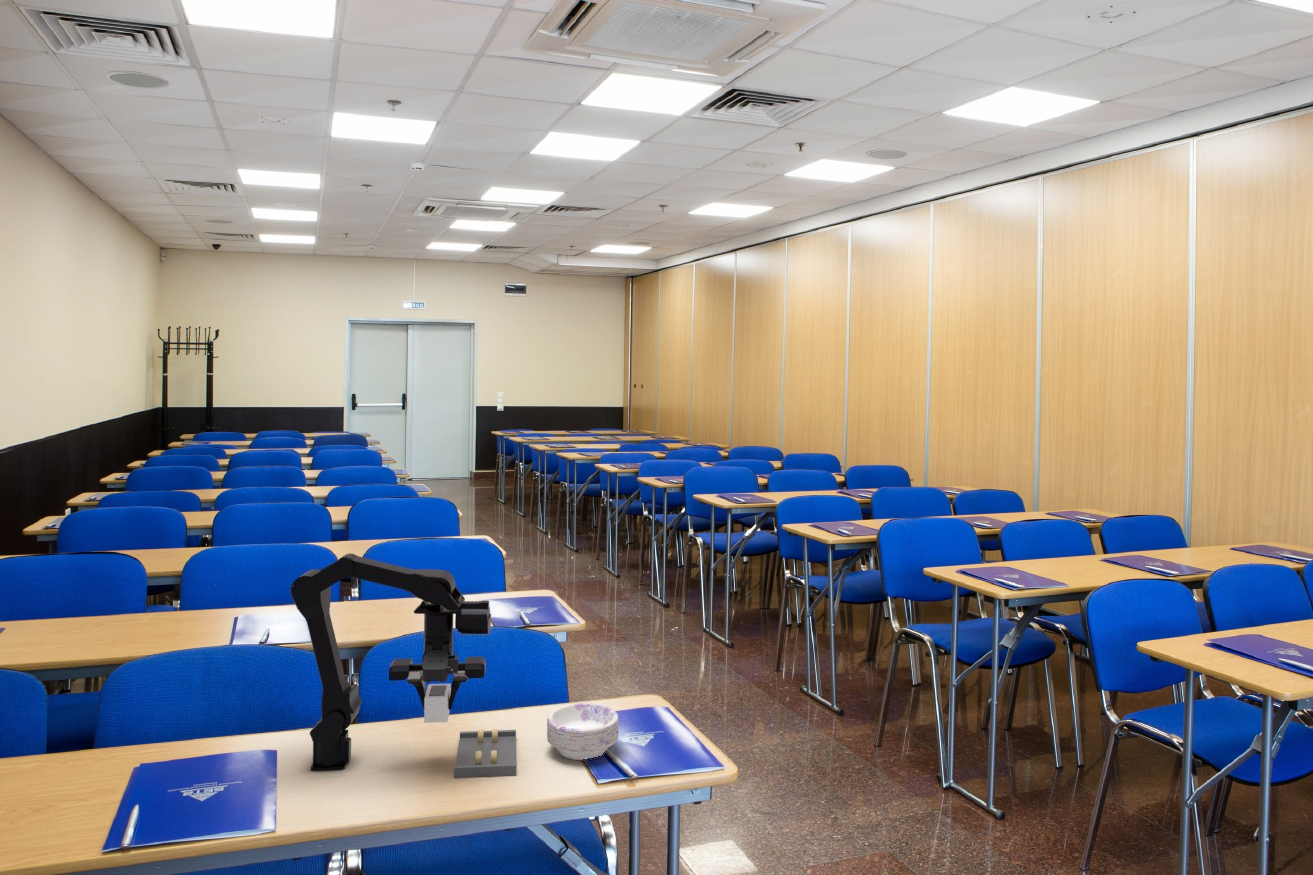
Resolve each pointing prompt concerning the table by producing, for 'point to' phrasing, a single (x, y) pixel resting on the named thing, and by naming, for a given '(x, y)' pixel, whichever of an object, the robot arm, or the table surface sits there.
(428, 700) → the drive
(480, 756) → the tray
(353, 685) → the robot arm
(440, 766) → the table surface
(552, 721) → the paper bowls
